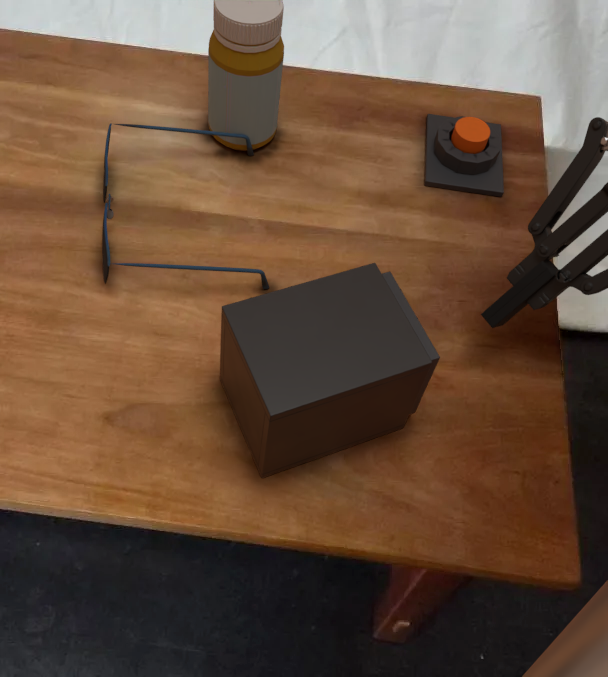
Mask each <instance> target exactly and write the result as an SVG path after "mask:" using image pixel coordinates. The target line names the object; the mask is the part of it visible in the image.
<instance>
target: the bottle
mask: <svg viewBox="0 0 608 677" xmlns="http://www.w3.org/2000/svg"><path fill="white" fill-rule="evenodd" d="M284 8H285V5H284V0H213V14H212V15H213V29H212V32H211V35H210V37H209V39H208V41H209V42H208V51H207V52H208V56H207V57H208V58H207V59H208V62H207V68H208V70H207V71H208V72H207V84H208V85H207V122H208V124H207V125H208V129H209V131H215V132H225V133H235V134H243V135H246V136H248V137H249V139H250V142H251V146H252V149H253V151H254V150H257V149H259V148H261V147H263V146H266V145H267V144H268V143H270V142H271V141H272V140H273V139H274V136H275V135H276V133H277V127H278V119H279V110H280V109H279V108H280V101H281V100H280V97H281V87H282V79H283V66H284V56H285V44H284V41H283V38H282V27H283V20H284ZM212 137H213V138H214V139H215V140H216V141H217V142H218V143H221V144H222V145H223V146H225V147H226V148H229V149H232V150H235V151H241V152H242V151H245V152H247V145H246V139H244V138H237V137H227V136H216V135H212Z"/></svg>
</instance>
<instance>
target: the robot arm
mask: <svg viewBox="0 0 608 677" xmlns="http://www.w3.org/2000/svg"><path fill="white" fill-rule="evenodd" d="M606 152H608V121H607V120H606V119H604V118H602V117H599V116H596V117H594V118H591V120H590V121H589V123H588V126H587V130H586V132H585V136H584V140H583V143H582V146H581V148H580V149H579V151H578V152H577V153H576V155H575V156H574V158H573V159H572V161H571V162H570V164H569V165H568V167H567V168H566V169H565V171H564V172H563V174H562V175H561V177H560V178H559V180H558V181H557V182H556V183H555V185H554V187H553V188H552V189H551V191H550V192H549V194H548V195H547V197H546V198H545V200H544V201H543V202H542V204H541V206H540V207H539V208H538V210H537V211H536V213H535V214H534V215H533V217H532V218H531V219H530V221H529V223H528V225H527V231H528V233H530V235H531V237H532V239H533V243H534V247H533V250H532V251H531V252H530V253H529V254H528V255H527V256H526V257H524V259H522V260H521V261H520V262H519V263H517V265H515V266H514V267H513V268H512V269H511V270H510V271H509V272H508V274H507V276H506V280H507V281H508V282H509V283H510V285H512V286H511V287H510V288H509V289H508V290H506V292H504V293H503V294H502V295H501V296H500V297H499V298H497V299H496V300H495V301H494V302H493V303H491V304H490V305H489V306H488V307H487V308H486V309H485V310H484V311H482V312H481V314H480V316H481V317H482V318H483V319H484V320H485V322H486V323H487V324H488V326H490V328H491V329H495V328H498V327H503V326H504V325H505V324H506V323H508V322H509V321H510V320H511V319H512V318H513V317H515V316H516V315H517V314H519V312H521V311H522V310H523V309H524V308H526V307H527V305H529V307H530V308H531V309H532V310H533V311H537V310H540V309H544V308H546V307H547V306H548V305H549V304H551V303H552V302H553V301H554V300H555V299H556V298H558V297H559V296H560V295H561V294H562V293H564V292H565V291H566V290H567V289H569V288H570V287H571V288H574V289H576V290H578V291H580V292H581V293H582V294H583V295H585V296H591V295H595V294H599V293H601V292H603V291H605V290H608V268H606V269H604V270H601V271H600V272H598V273H596V274H594V275H590V274H588V273H589V272H590V271H591V270H592V269H594V268H595V267H596V266H597V265H598V264H600V263H601V262H602V261H603V260H605V259H606V258H607V257H608V228H607V229H606V230H604V232H602V233H601V234H600V235H599V236H598V237H597V238H595V239H594V240H593V241H592V242H590V244H588V245H587V246H586V247H584V248H583V250H581V251H580V252H579V253H578V254H576V256H574V257H573V258H572V259H571V260H569V261H568V262H567V263H566V264H565V265H564V266H563V267H562V268H561V269H559V268H558V267H557V266H556V265H555V264H554V263H553V261H552V260H553V258H557V257H559V256H560V254H561V253H562V252H563V251H564V250H565V249H567V248H568V247H569V246H571V245H572V243H573V242H575V241H576V240H578V238H579V237H581V236H582V235H583V234H584V233H585V232H586V231H588V229H590V228H591V227H592V226H593V225H595V224H596V223H597V222H598V221H599V220H600V219H602V217H604V216H605V215H606V214H607V213H608V181H607V182H606V183H605V184H604V185H603V186H602V188H601V189H600V190H599V191H598V192H597V193H595V194H594V195H593V196H592V197H590V199H588V201H586V202H585V204H583V205H581V207H580V208H578V209H577V210H576V211H575V212H574V213H573V214H572V215H571V216H570V217H568V218H567V219H566V220H565V221H564V222H563V223H561V224H560V225H559V226H558V227H557V228H556V229H554V227H555V226H556V224H557V223H558V222H559V220H560V219H561V217H562V216H563V214H564V213H565V212H566V210H567V209H568V207H569V206H570V205H571V203H572V202H573V200H574V199H575V197H577V195H578V193H579V192H580V191H581V189H582V188H583V187H584V185H585V183H586V182H587V180H589V179H590V176H591V175H592V173H593V172H594V171H595V169H596V168H597V166H598V165H599V164H600V162H601V160H602V159H603V157H604V155H605V153H606ZM553 229H554V230H553ZM552 230H553V231H552ZM521 677H608V579H607V580H606V581H605V582H604V583H603V584H602V586H600V588H599V589H598V590H597V592H595V593H594V595H593V596H592V597H591V598H590V599H589V600H588V602H586V604H584V606H582V608H581V610H579V611H578V613H577V614H576V615H575V616H574V617H573V619H571V621H570V622H568V624H567V625H566V626H565V627H564V629H562V630H561V632H560V633H559V634H558V635H557V636H556V637H555V638H554V640H553V641H551V643H550V644H549V645H548V646H547V647H546V648H545V650H544V651H543V652H542V653H541V654H540V656H538V657H537V659H536V660H535V661H534V662H533V664H531V666H530V667H529V668H528V669H527V670H526V672H524V673H523V675H522V676H521Z"/></svg>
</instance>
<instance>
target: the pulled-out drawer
mask: <svg viewBox="0 0 608 677" xmlns="http://www.w3.org/2000/svg"><path fill="white" fill-rule="evenodd" d="M382 275H383V277H384V279H385V280H386V282H387V284H388V286H389V287H390V289H391V291H392V293H393V294H394V296H395V298H396V300H397V301H398V303H399V305H400V307H401V308H402V310H403V312H404V314H405V315H406V317H407V319H408V320H409V322H410V324H411V326H412V327H413V329H414V331H415V333H416V334H417V336H418V338H419V340H420V341H421V343H422V345H423V347H424V348H425V350H426V352H427V354H428V355H429V357H430V359H431V361H432V365H431V367H430V369H429V372H428V374H427V376H426V378H425V380H424V383H423V385H422V387H421V389H420V392H419V394H418V396H417V398H416V401H415V403H414V405H413V407H412V410H411V412H410V414H409V416H410V415H412V414H415V413H416V411H417V409H418V408H419V405H420V403H421V400H422V398H423V396H424V394H425V392H426V390H427V388H428V385H429V383H430V380H431V379H432V376H433V374H434V372H435V370H436V367H437V366H438V363H439V361H440V360H441V356H440V355H439V353H438V350H437V349H436V348H435V346H434V344H433V342H432V341H431V339H430V337H429V335H428V333H427V331H426V330H425V329H424V326H423V325H422V323H421V322H420V320H419V318H418V316H417V315H416V313H415V311H414V309H413V308H412V306H411V304H410V302H409V301H408V300H407V297H406V296H405V294H404V292H403V291H402V289H401V287H400V286H399V283H398V282H397V280H396V279H395V277H394V275H393V274H392V272H391V271H386V272H383V273H382Z"/></svg>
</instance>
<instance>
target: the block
mask: <svg viewBox="0 0 608 677" xmlns="http://www.w3.org/2000/svg"><path fill="white" fill-rule="evenodd" d="M426 114H427V115H426V120H425V148H424V149H425V151H424V152H425V154H424V180H423V181H424V186H425V187H431V188H439V189H445V190H450V191H457V192H464V193H471V194H479V195H486V196H492V197H500V198H502V197H503V196H504V194H505V186H504V184H505V183H504V163H503V142H502V140H503V139H502V138H503V137H502V124H501V123H493V122H487V121H484V122H485V123H486V124H487V125H488V126H489V128H490V136H489V139H488V141H487V144H486V146H485V149H484V150H483V151H482V152H480V153H477V154H470V153H464V152H462V151H460V150H459V149H457V148H455V147H454V146H453V144H452V141H451V136H452V133H453V130H454V127H455V124H456V122H457V121H458V120H459V119H461V118H464V117H465V116H463V115H461V116H460V115H459V116H456V117H453V116H447V115H440V114H434V113H426Z"/></svg>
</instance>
